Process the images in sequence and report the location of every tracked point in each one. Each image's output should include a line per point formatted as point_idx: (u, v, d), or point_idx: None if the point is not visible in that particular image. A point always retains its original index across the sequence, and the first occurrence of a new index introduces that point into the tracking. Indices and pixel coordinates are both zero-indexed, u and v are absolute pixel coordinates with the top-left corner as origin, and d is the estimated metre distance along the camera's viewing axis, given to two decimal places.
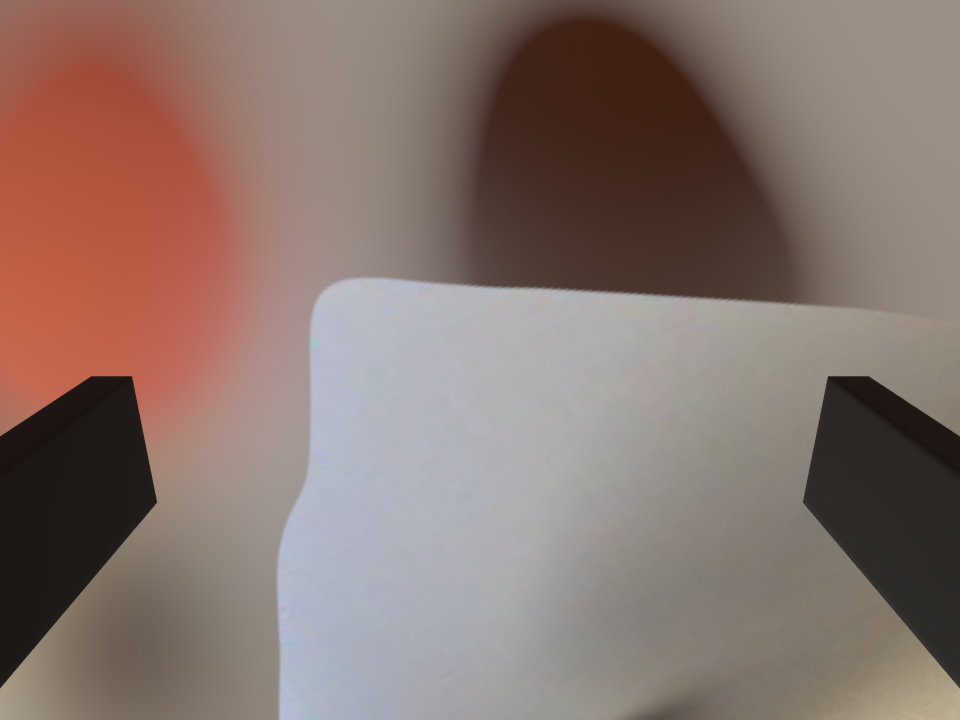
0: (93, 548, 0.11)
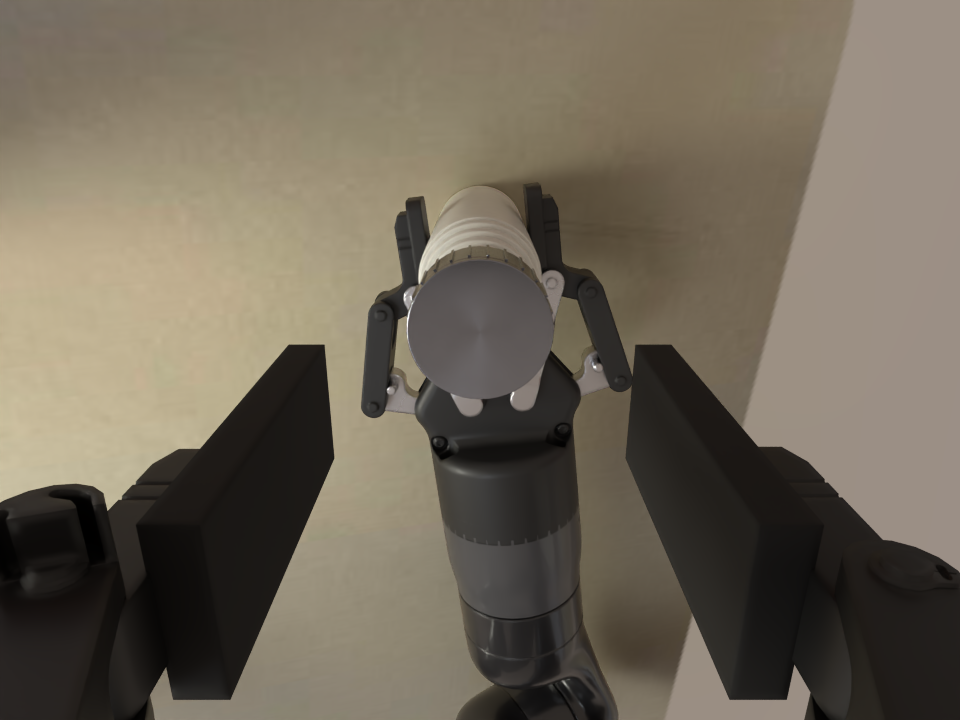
0: (309, 490, 0.12)
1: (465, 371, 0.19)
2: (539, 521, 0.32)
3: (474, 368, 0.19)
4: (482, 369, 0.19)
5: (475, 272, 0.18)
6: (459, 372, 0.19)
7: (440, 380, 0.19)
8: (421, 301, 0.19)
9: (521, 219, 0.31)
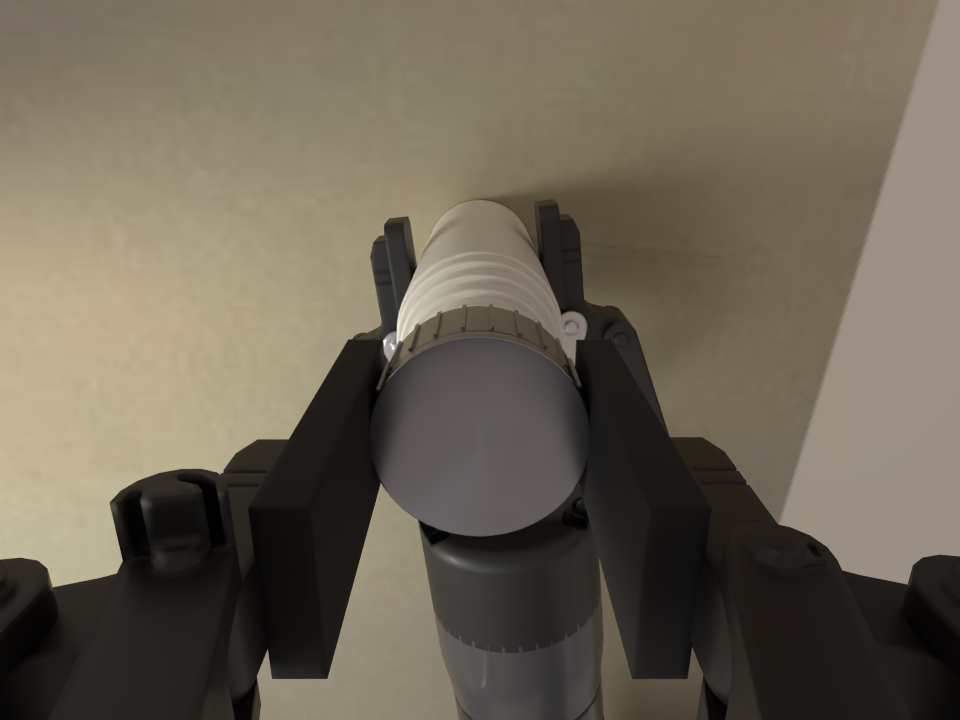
0: (374, 481, 0.13)
1: (457, 498, 0.13)
2: (554, 623, 0.26)
3: (471, 493, 0.13)
4: (483, 494, 0.13)
5: (472, 355, 0.12)
6: (448, 499, 0.13)
7: (420, 510, 0.13)
8: (389, 398, 0.12)
9: (532, 245, 0.25)
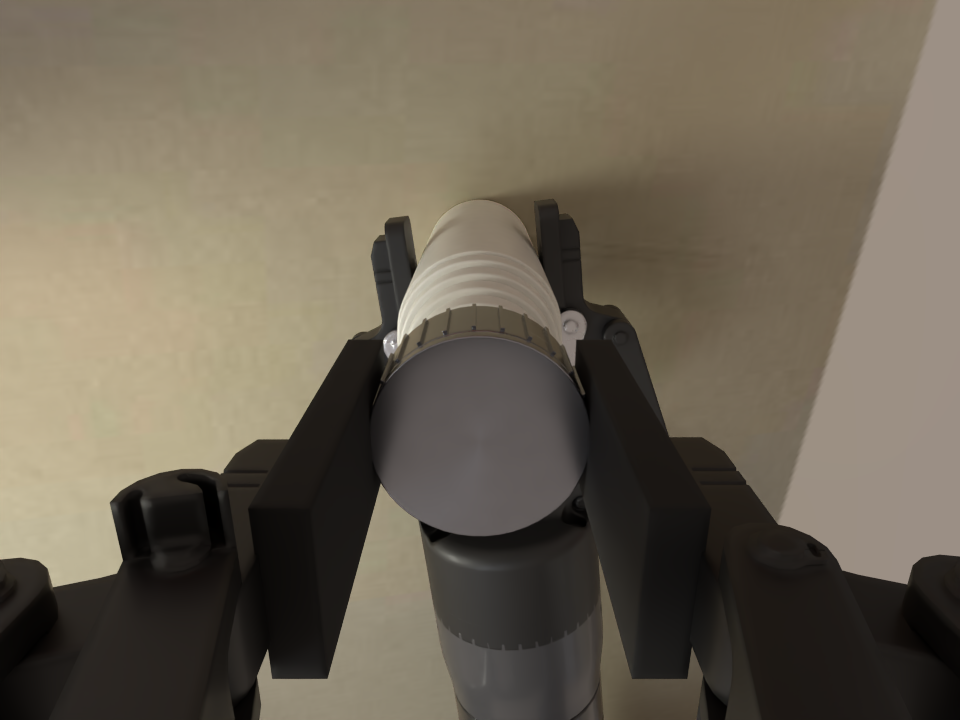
0: (375, 481, 0.13)
1: (539, 413, 0.12)
2: (554, 620, 0.26)
3: (526, 407, 0.12)
4: (517, 398, 0.12)
5: (425, 506, 0.13)
6: (548, 416, 0.12)
7: (579, 426, 0.12)
8: (512, 522, 0.13)
9: (531, 244, 0.25)
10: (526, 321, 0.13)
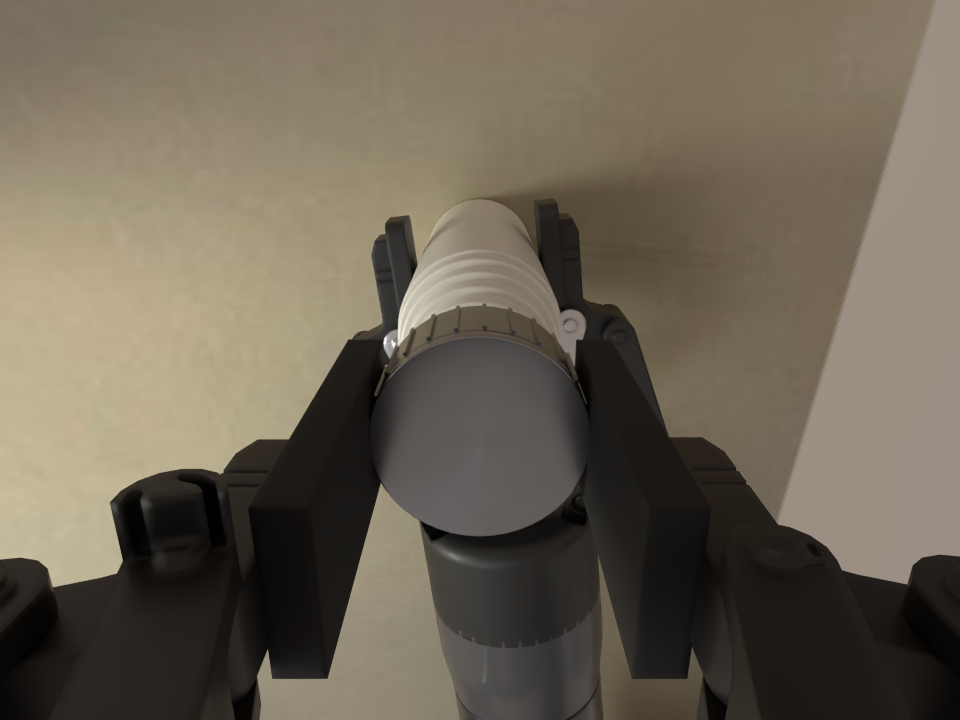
0: (374, 481, 0.13)
1: (413, 429, 0.12)
2: (553, 618, 0.26)
3: (420, 441, 0.12)
4: (420, 452, 0.12)
5: (571, 425, 0.12)
6: (409, 420, 0.12)
7: (391, 395, 0.12)
8: (518, 354, 0.12)
9: (531, 244, 0.25)
10: None
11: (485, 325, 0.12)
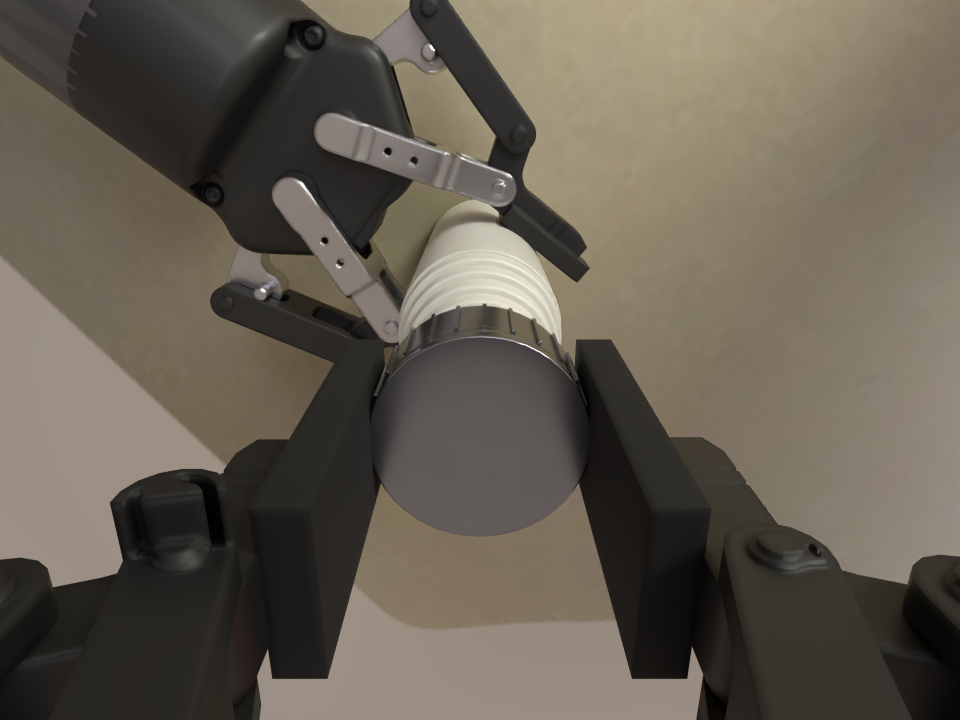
0: (374, 481, 0.13)
1: (413, 429, 0.12)
2: (102, 78, 0.19)
3: (420, 441, 0.12)
4: (421, 452, 0.12)
5: (571, 426, 0.12)
6: (409, 420, 0.12)
7: (391, 395, 0.12)
8: (518, 354, 0.12)
9: None
10: None
11: (485, 325, 0.12)
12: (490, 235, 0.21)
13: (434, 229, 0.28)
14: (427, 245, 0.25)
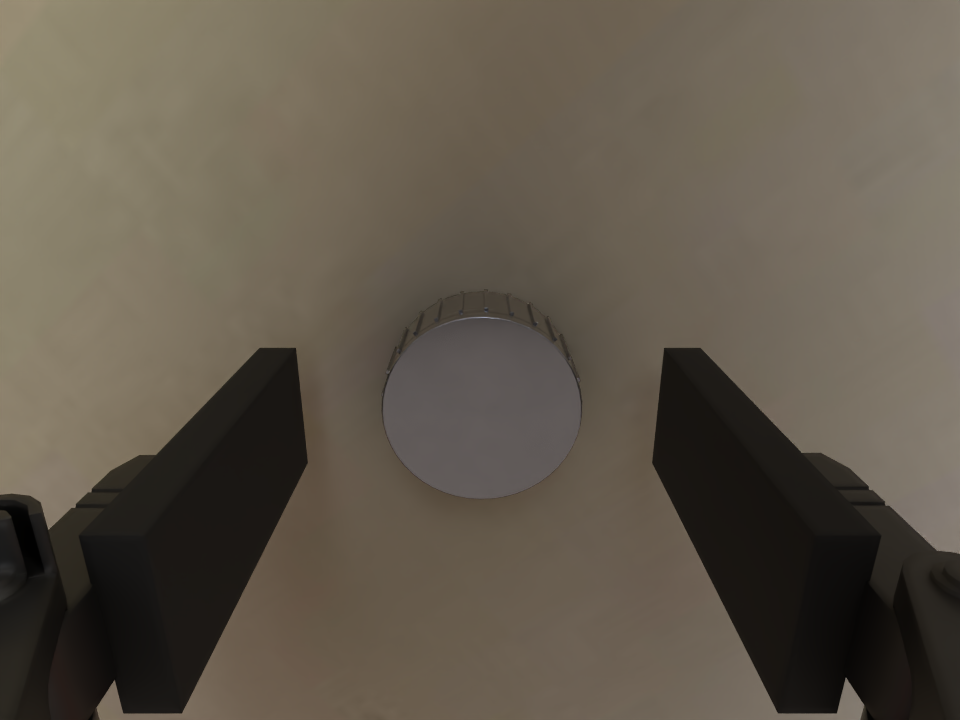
0: (278, 496, 0.12)
1: (422, 401, 0.14)
2: None
3: (428, 411, 0.14)
4: (428, 421, 0.14)
5: (564, 397, 0.14)
6: (419, 393, 0.14)
7: (402, 370, 0.13)
8: (516, 333, 0.13)
9: None
10: None
11: (487, 307, 0.14)
12: None
13: None
14: None
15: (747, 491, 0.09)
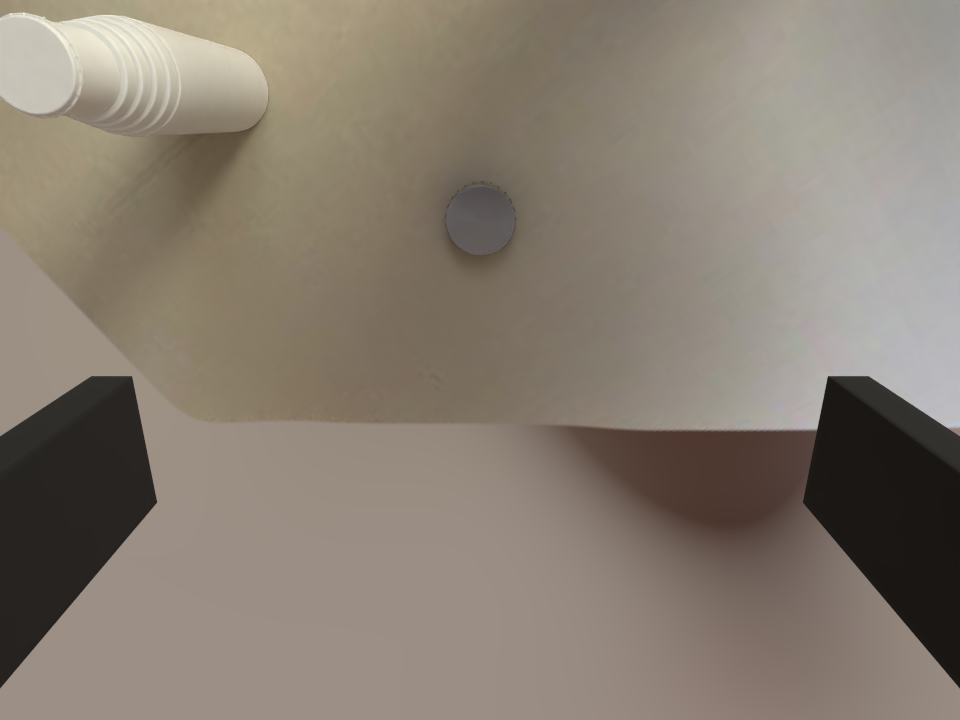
0: (93, 548, 0.11)
1: (460, 216, 0.40)
2: None
3: (462, 220, 0.40)
4: (462, 224, 0.40)
5: (508, 215, 0.40)
6: (459, 213, 0.40)
7: (453, 204, 0.40)
8: (492, 191, 0.40)
9: None
10: None
11: (482, 183, 0.40)
12: None
13: None
14: None
15: None
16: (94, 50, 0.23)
